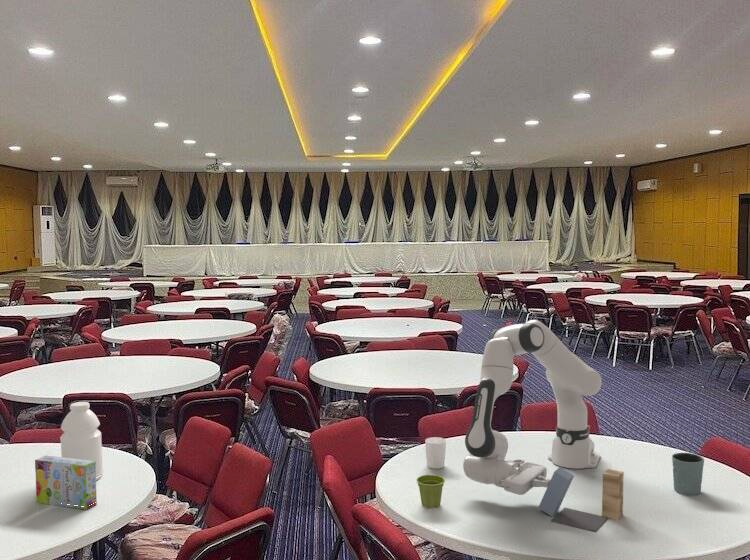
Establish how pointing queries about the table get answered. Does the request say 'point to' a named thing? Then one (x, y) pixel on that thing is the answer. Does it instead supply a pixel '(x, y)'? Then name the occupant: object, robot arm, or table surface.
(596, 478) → the table surface
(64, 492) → the snack box
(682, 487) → the teal embossed cup
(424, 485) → the plant pot
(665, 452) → the table surface
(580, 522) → the mat
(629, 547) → the table surface
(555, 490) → the slate pillar
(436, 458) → the white cup
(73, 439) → the bottle
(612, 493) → the oak pillar
